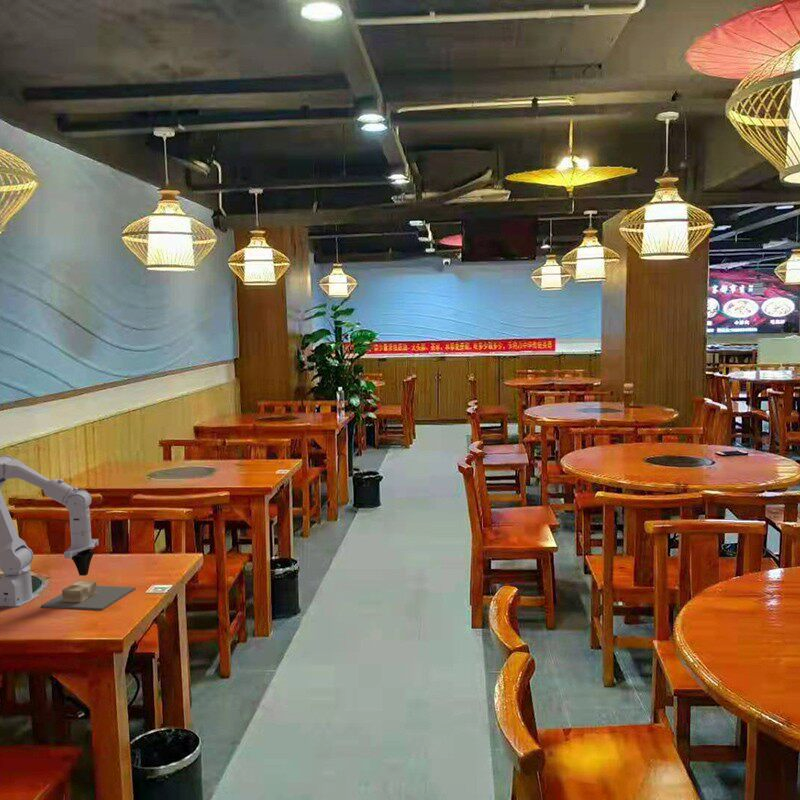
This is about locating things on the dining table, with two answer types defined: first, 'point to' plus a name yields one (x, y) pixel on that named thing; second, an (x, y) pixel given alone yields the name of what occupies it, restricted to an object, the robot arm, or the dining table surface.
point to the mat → (93, 599)
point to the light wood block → (79, 591)
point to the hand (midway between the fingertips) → (83, 574)
